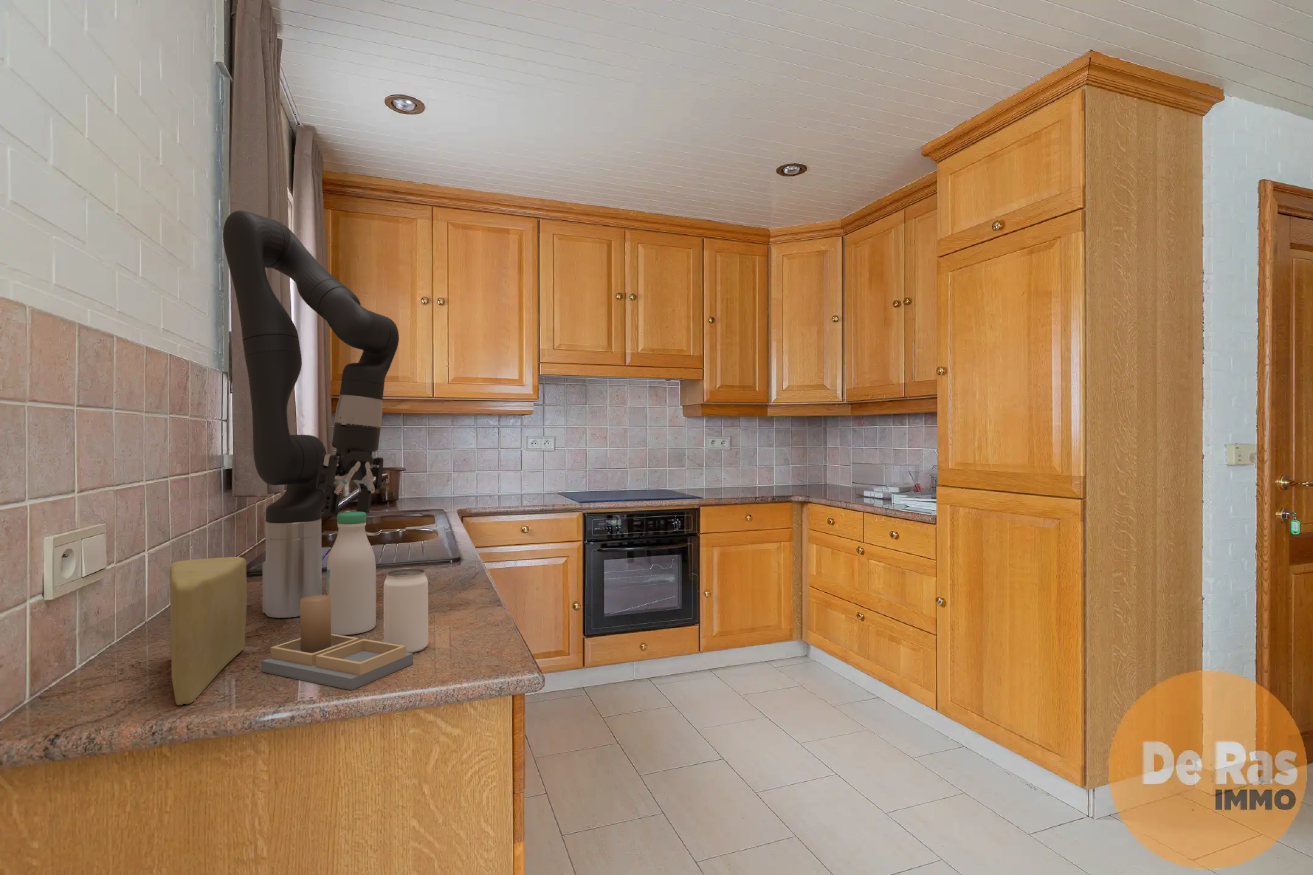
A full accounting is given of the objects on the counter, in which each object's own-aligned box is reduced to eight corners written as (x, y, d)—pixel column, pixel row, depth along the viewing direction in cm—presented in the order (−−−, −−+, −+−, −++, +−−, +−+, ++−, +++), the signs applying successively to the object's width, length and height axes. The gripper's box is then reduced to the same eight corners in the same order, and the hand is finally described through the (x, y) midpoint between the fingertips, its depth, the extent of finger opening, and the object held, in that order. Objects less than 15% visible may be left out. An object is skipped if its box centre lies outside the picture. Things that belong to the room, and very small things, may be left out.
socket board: (261, 671, 95) (261, 604, 94) (327, 648, 105) (327, 587, 105) (351, 690, 88) (351, 617, 88) (413, 663, 98) (413, 598, 98)
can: (413, 656, 101) (413, 576, 101) (374, 653, 102) (374, 575, 102) (436, 643, 107) (435, 568, 107) (399, 640, 109) (399, 566, 109)
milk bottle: (385, 625, 117) (386, 511, 117) (352, 638, 110) (352, 516, 110) (350, 621, 120) (350, 509, 120) (315, 633, 112) (316, 514, 112)
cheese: (230, 699, 85) (230, 581, 85) (134, 714, 80) (134, 589, 80) (247, 649, 105) (247, 553, 104) (171, 658, 100) (170, 558, 100)
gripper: (365, 424, 127) (354, 510, 126) (311, 417, 113) (299, 514, 112) (400, 428, 125) (390, 515, 124) (350, 421, 111) (337, 519, 110)
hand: (346, 514), depth 118 cm, fingers open, 8 cm apart
